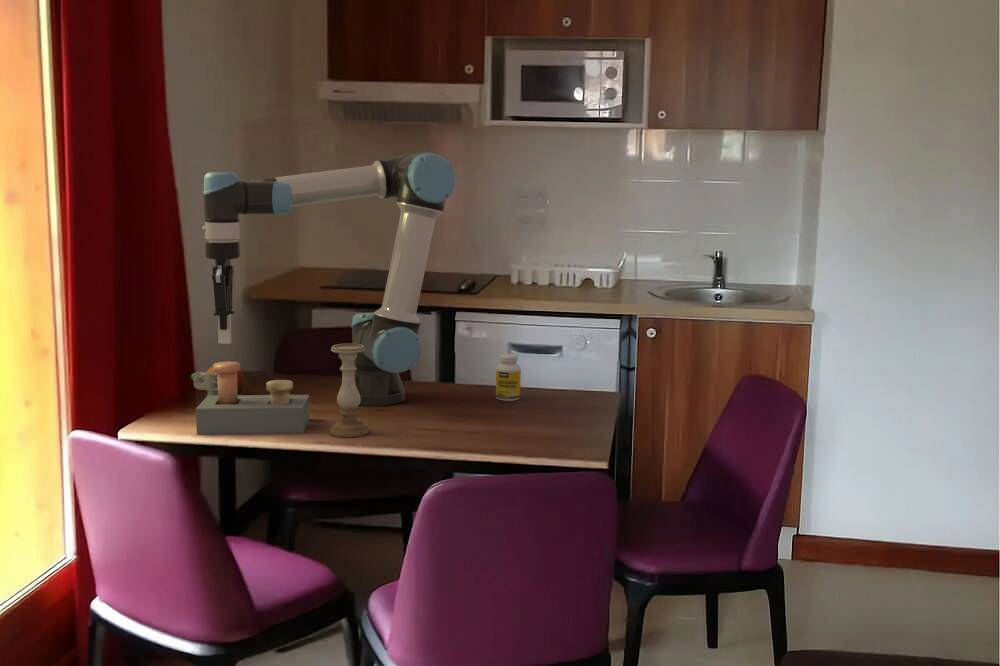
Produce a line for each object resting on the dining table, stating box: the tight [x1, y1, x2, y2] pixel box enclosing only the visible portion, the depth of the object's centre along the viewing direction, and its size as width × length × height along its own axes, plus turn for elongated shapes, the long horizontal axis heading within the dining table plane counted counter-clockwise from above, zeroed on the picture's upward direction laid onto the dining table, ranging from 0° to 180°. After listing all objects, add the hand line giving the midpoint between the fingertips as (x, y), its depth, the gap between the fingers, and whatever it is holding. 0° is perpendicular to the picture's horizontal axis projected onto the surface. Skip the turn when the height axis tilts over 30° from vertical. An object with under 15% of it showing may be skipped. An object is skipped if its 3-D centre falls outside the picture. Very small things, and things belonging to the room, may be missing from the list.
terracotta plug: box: [212, 360, 241, 404], centre depth 237 cm, size 6×6×10 cm
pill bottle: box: [495, 353, 522, 402], centre depth 269 cm, size 6×6×12 cm
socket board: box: [195, 394, 311, 435], centre depth 239 cm, size 24×13×6 cm, turn 94°
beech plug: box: [266, 379, 294, 404], centre depth 239 cm, size 6×6×10 cm
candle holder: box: [329, 343, 369, 438], centre depth 233 cm, size 9×9×20 cm
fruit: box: [206, 359, 246, 395], centre depth 266 cm, size 11×10×10 cm
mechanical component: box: [190, 371, 218, 397], centre depth 250 cm, size 3×10×10 cm, turn 78°
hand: (224, 342), depth 236 cm, fingers closed
